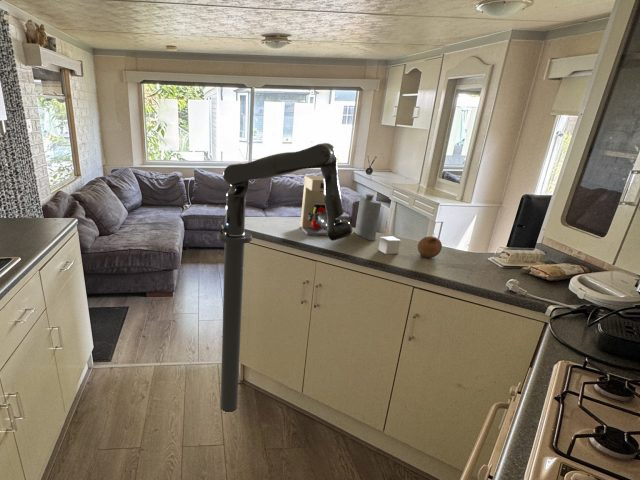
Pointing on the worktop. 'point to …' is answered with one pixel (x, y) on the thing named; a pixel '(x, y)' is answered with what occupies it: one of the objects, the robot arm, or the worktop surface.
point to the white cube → (389, 245)
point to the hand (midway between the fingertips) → (317, 213)
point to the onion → (429, 246)
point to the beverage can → (318, 209)
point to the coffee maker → (312, 203)
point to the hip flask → (367, 217)
